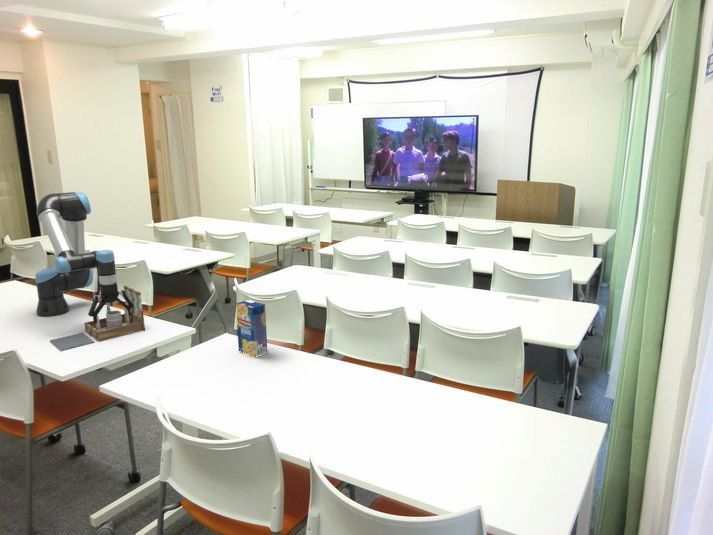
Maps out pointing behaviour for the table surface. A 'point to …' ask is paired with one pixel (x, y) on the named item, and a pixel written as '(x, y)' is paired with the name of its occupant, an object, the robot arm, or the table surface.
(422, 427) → the table surface
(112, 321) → the mug
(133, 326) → the box
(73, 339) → the slate mat
